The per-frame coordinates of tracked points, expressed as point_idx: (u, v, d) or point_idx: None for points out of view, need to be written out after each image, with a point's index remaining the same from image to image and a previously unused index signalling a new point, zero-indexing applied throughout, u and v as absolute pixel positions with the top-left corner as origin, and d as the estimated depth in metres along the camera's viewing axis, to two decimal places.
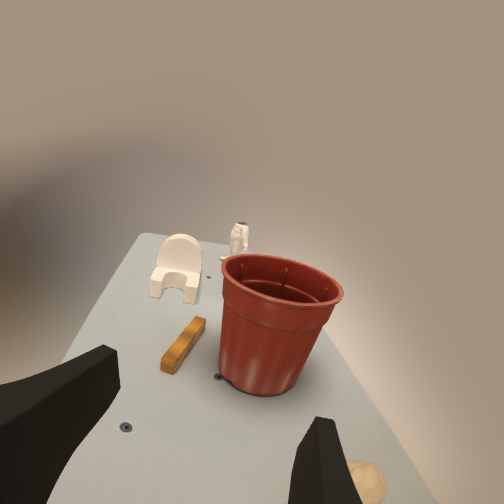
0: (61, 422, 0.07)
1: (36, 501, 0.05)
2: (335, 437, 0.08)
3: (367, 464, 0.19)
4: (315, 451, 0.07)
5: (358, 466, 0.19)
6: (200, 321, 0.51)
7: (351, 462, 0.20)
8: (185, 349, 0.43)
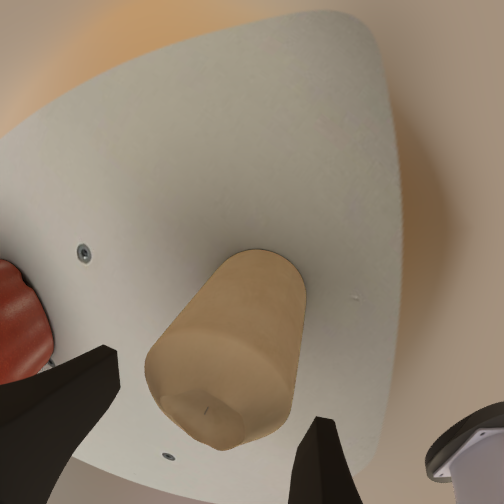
0: (61, 422, 0.07)
1: (36, 501, 0.05)
2: (334, 437, 0.08)
3: (162, 401, 0.09)
4: (315, 451, 0.07)
5: (169, 411, 0.09)
6: None
7: (155, 399, 0.10)
8: None
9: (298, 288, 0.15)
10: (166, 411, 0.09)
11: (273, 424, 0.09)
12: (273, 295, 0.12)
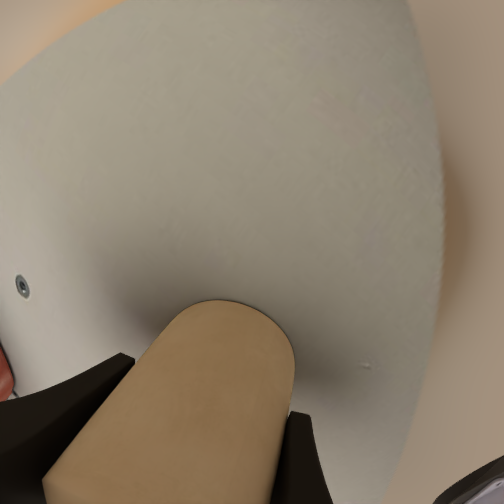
0: None
1: None
2: (308, 432, 0.08)
3: None
4: (287, 445, 0.07)
5: None
6: None
7: None
8: None
9: (280, 368, 0.09)
10: None
11: None
12: (232, 405, 0.07)
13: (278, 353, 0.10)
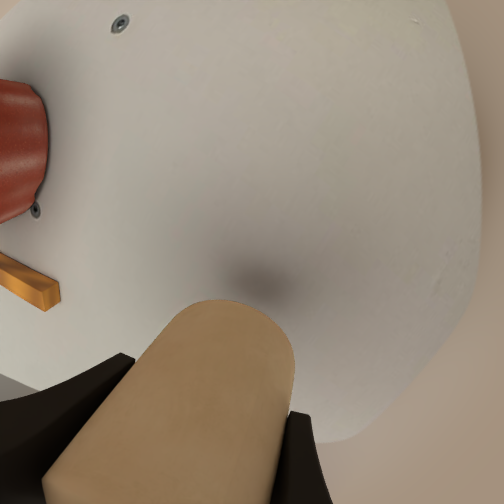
0: None
1: None
2: (308, 432, 0.08)
3: None
4: (287, 445, 0.07)
5: None
6: None
7: None
8: (16, 274, 0.22)
9: (280, 367, 0.09)
10: None
11: None
12: (231, 404, 0.07)
13: (278, 352, 0.10)
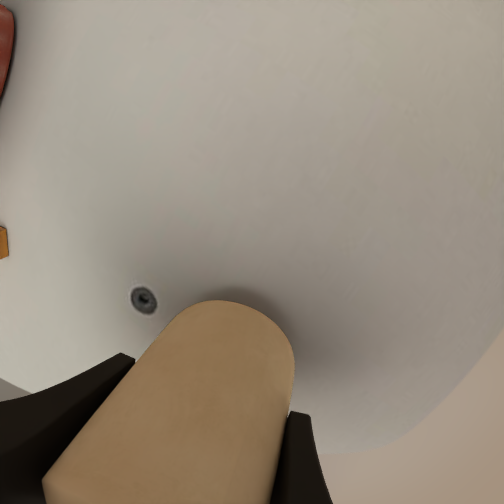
0: None
1: None
2: (308, 432, 0.08)
3: None
4: (287, 445, 0.07)
5: None
6: None
7: None
8: None
9: (280, 368, 0.09)
10: None
11: None
12: (231, 405, 0.07)
13: (278, 353, 0.10)
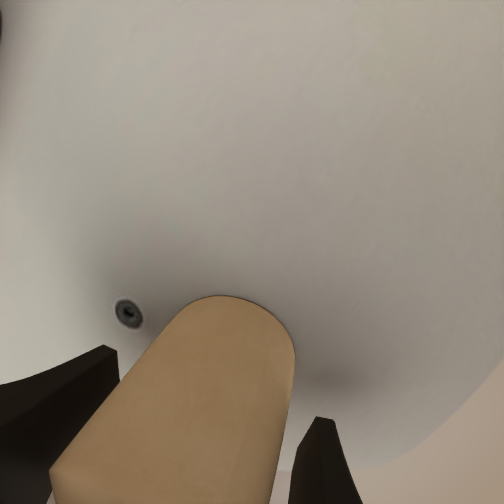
0: (61, 422, 0.07)
1: (36, 501, 0.05)
2: (335, 437, 0.08)
3: None
4: (315, 451, 0.07)
5: None
6: None
7: None
8: None
9: (281, 361, 0.10)
10: None
11: None
12: (235, 395, 0.07)
13: (279, 347, 0.10)
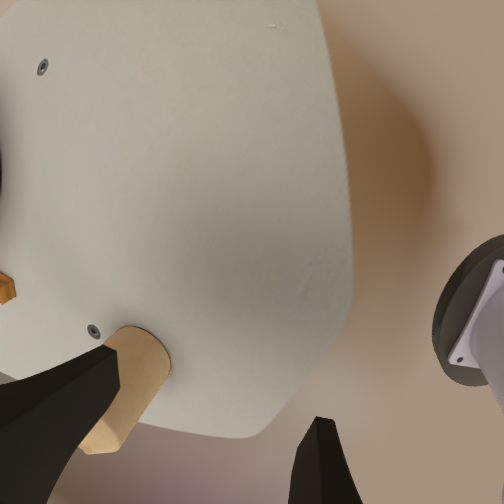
0: (61, 422, 0.07)
1: (36, 501, 0.05)
2: (335, 437, 0.08)
3: None
4: (315, 451, 0.07)
5: None
6: None
7: None
8: None
9: (151, 360, 0.20)
10: None
11: (109, 446, 0.14)
12: (120, 370, 0.17)
13: (152, 353, 0.21)
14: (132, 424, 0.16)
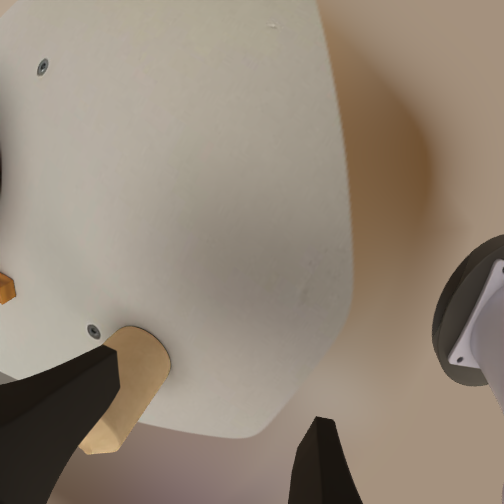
0: (61, 422, 0.07)
1: (36, 501, 0.05)
2: (335, 437, 0.08)
3: None
4: (315, 451, 0.07)
5: None
6: None
7: None
8: None
9: (151, 360, 0.20)
10: None
11: (109, 446, 0.14)
12: (120, 370, 0.17)
13: (152, 353, 0.21)
14: (132, 424, 0.16)
